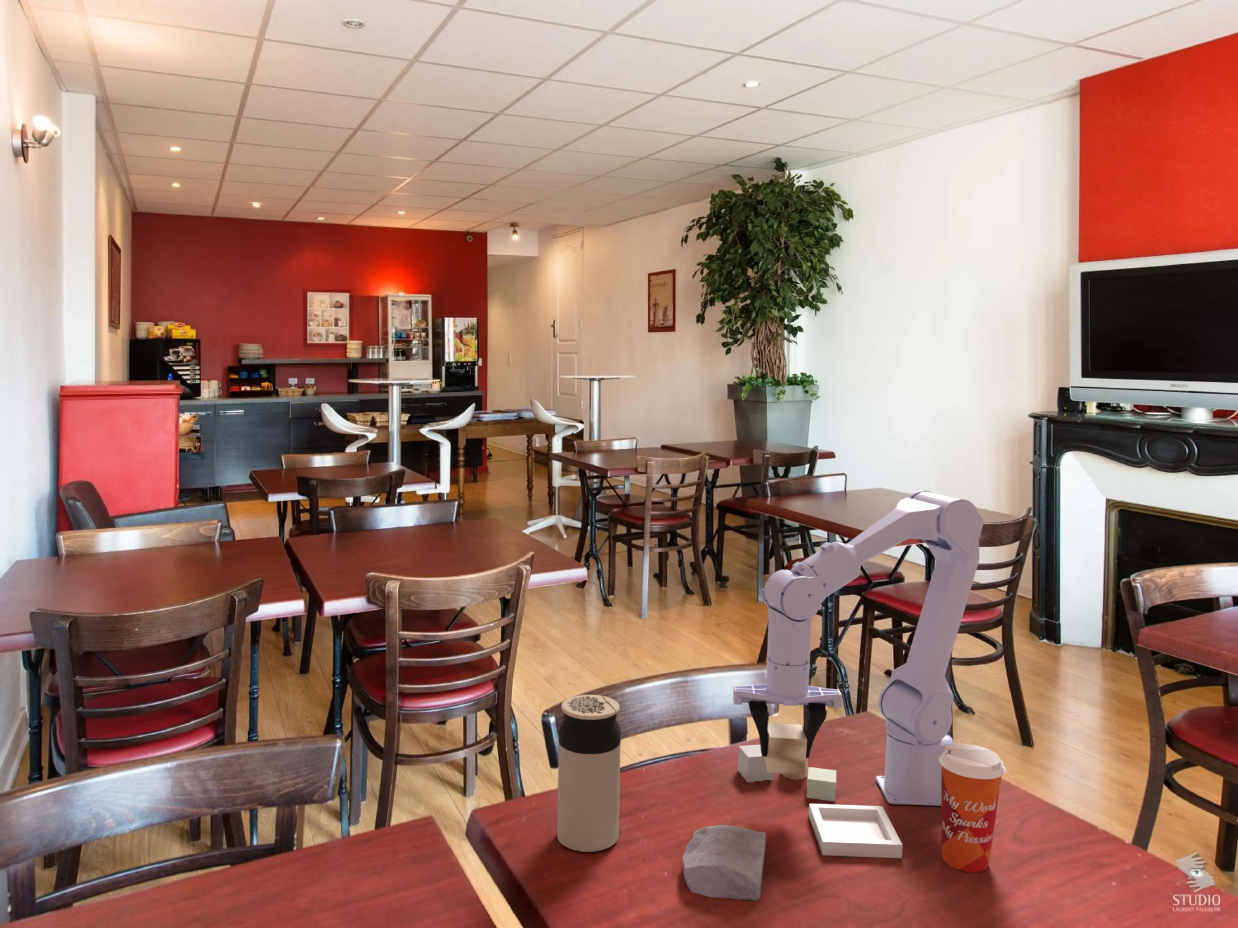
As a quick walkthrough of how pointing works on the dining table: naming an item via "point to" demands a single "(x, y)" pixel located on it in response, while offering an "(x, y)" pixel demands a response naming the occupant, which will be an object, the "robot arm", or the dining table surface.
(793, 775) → the terracotta cylinder
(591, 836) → the travel mug
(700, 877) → the stone block
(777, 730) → the beech cube
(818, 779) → the sage block
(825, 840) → the white square tray
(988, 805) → the paper cup
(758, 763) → the grey block
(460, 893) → the dining table surface
